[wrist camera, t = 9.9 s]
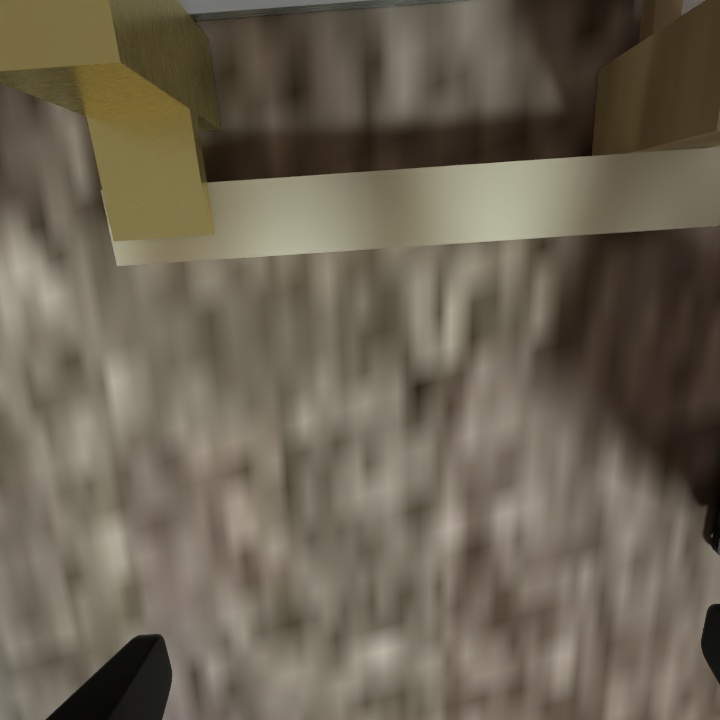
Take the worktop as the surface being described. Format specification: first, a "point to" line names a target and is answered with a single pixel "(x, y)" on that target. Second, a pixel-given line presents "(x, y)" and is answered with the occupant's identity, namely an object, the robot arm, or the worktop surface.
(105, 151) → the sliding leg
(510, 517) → the worktop surface
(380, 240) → the trammel beam
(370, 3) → the bolt plate
